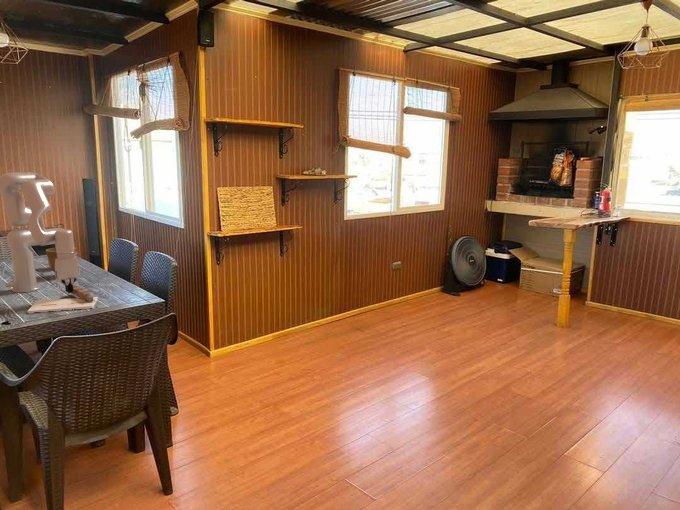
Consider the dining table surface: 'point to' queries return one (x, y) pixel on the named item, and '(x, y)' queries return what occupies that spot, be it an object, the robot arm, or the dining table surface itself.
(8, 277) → the dining table surface
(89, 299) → the bar
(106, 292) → the dining table surface
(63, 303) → the label plate
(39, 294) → the dining table surface
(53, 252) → the plant pot
